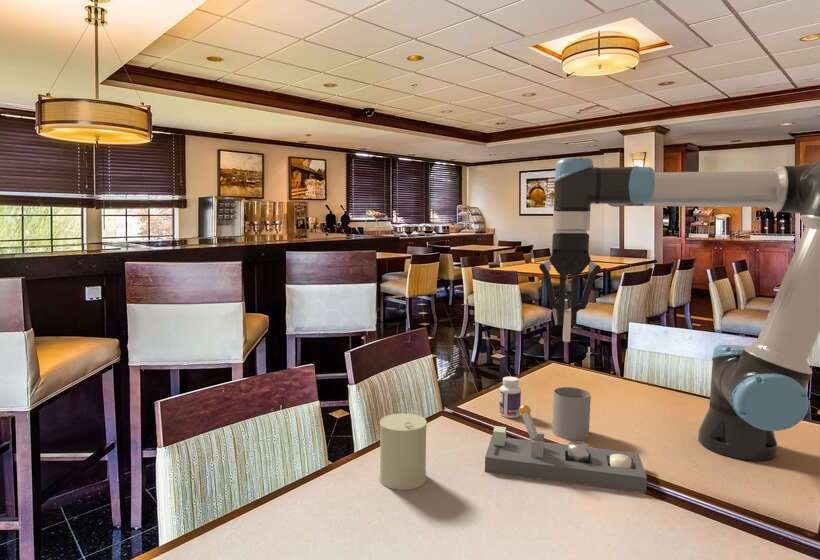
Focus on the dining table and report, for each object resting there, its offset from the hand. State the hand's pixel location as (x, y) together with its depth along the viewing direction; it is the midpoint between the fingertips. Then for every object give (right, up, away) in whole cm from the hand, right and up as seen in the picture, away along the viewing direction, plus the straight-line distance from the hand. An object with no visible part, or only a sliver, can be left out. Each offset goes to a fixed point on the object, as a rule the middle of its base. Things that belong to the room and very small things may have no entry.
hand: (566, 340), depth 115 cm
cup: (+4, -24, +11) cm, 26 cm away
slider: (-15, -22, -3) cm, 26 cm away
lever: (-8, -21, -7) cm, 24 cm away
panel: (-3, -25, -8) cm, 27 cm away
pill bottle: (-8, -22, +22) cm, 33 cm away
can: (-36, -26, -12) cm, 46 cm away
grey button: (0, -23, -9) cm, 25 cm away
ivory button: (+7, -25, -11) cm, 29 cm away
